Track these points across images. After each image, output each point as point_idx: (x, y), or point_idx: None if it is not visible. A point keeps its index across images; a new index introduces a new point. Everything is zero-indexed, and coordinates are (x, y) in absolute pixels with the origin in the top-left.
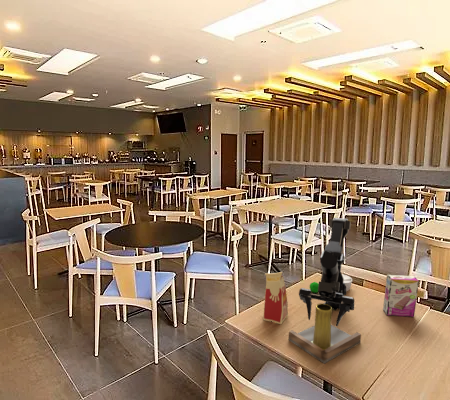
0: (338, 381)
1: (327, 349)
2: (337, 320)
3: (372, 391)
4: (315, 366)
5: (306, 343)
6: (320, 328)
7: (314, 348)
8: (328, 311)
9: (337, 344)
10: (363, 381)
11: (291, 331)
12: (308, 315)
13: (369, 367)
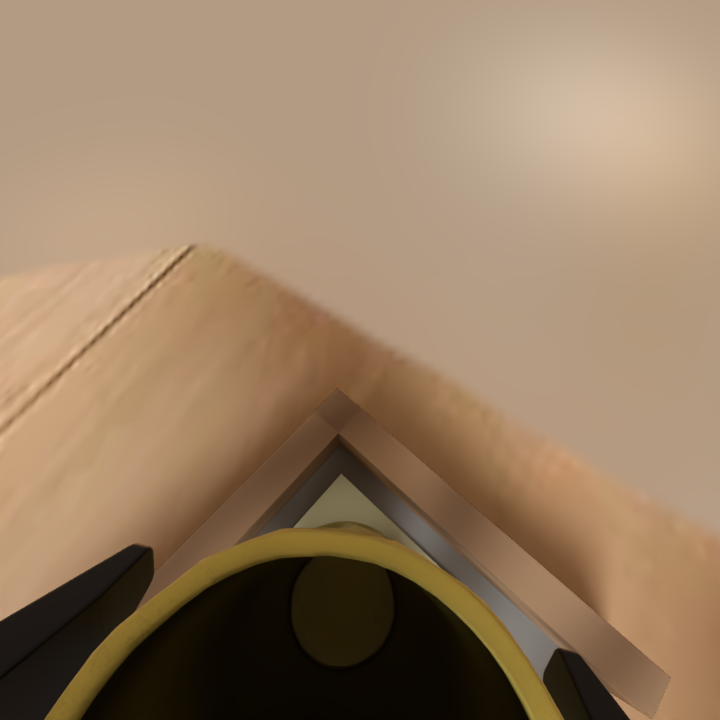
0: (283, 297)
1: (311, 446)
2: (79, 595)
3: (143, 270)
4: (389, 377)
5: (470, 506)
6: (371, 533)
7: (406, 450)
8: (187, 578)
9: (216, 541)
10: (159, 320)
11: (645, 679)
12: (615, 712)
13: (72, 437)
